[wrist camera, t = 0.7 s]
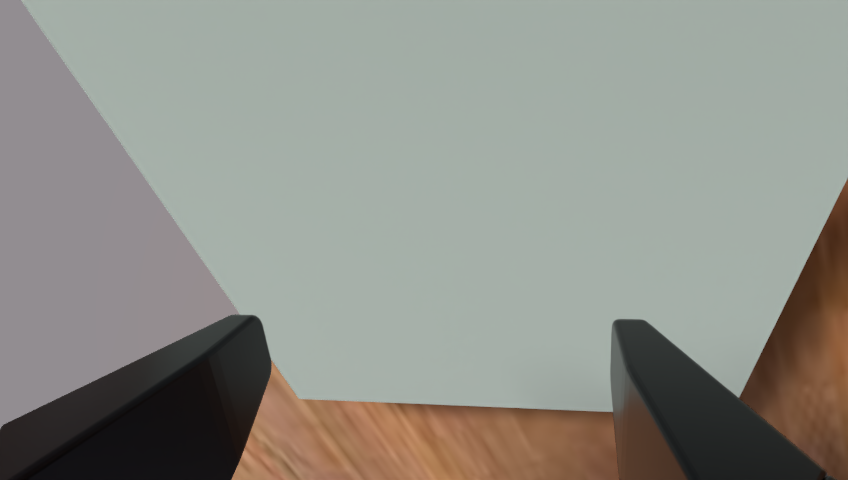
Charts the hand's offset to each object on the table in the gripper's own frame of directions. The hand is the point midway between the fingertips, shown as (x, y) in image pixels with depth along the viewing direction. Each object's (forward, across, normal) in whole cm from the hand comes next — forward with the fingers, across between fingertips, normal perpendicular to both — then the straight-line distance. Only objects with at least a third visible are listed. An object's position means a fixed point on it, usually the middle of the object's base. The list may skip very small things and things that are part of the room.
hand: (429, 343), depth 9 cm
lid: (+7, 0, +2) cm, 7 cm away
